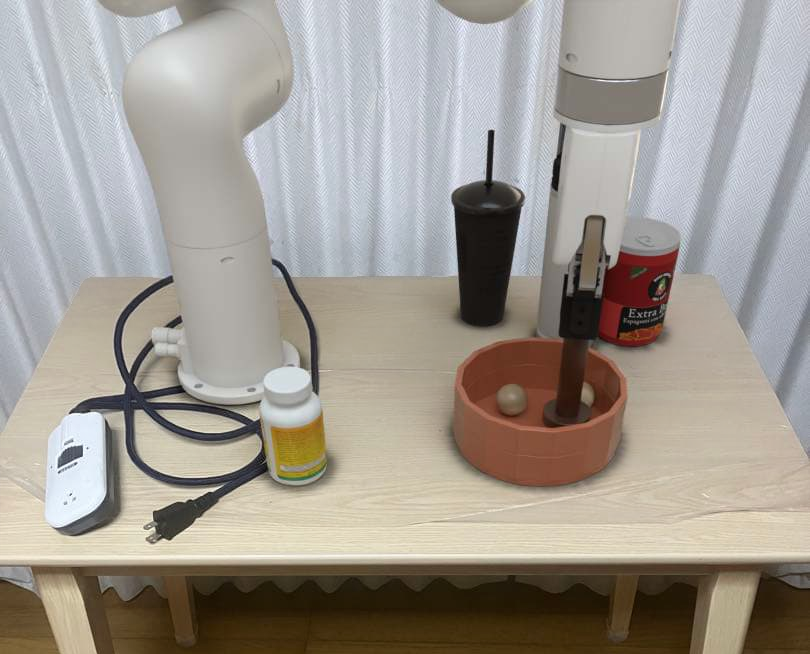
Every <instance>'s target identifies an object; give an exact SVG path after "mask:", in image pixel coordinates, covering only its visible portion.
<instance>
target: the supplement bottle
mask: <svg viewBox="0 0 810 654" xmlns="http://www.w3.org/2000/svg"><path fill="white" fill-rule="evenodd" d="M263 385H264V394H265V397H264V398H263V399H262V400H260V403H259V407H258V414H259V421H260V426H261V434H262V441H263V447H264V453H265V460H266V466H267V470H268V473H269V475H270V477H271V478H272V479H273V480H275V481H276V482H278V483H280V484H283V485H287V486H305V485H309V484H311V483H314V482H315V481H318V479H320V478H321V477H322V476H323V475H324V473H325V472H326V469H327V466H328V459H327V448H326V437H325V425H324V416H323V415H324V414H323V405H322V401H321V399H320V397H319V396H318V395H317V393H315V392H314V390H313V389H314V388H313V382H312V376H311V374H310V373H309V371H307V370H306V369H304V368H302V367H300V368H299V367H281V368H278V369H275V370H273V371H271V372H269V373H268V374H267V375H266V376H265V377H264V380H263Z"/></svg>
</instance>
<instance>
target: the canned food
mask: <svg viewBox="0 0 810 654" xmlns="http://www.w3.org/2000/svg"><path fill="white" fill-rule="evenodd" d="M681 237H682V235H681V233H680V231H679V230H678V229H677V228H675V227H674V226H673V225H671V224H669V223H667V222H665V221H661V220H659V219H654V218H648V217H626V221H625V226H624V231H623V236H622V241H621V246H620V250H619V255H618V259H617V263H616V265H615V266H613V267H612V268H611V269H608V268H607V266H606V268H605V274H604V281H603V288H602V293H604V297H603V303H602V310H601V316H600V323H599V330H598V336H597V337H599V338H601V339H602V340H604V341H607V342H609V343H611V344H613V345H618V346H624V347H639V346H644V345H648V344H651V343H652V342H654V341H655V340H656V339H657V338H658V337H659V335H660V333H661V332H662V330H663V326H664V324H665V323H664V322H665V318H666V313H667V308H668V305H669V304H668V303H669V300H670V294H671V290H672V285H673V281H674V277H675V276H674V275H675V271H676V268H677V261H678V257H679V253H680V246H681Z"/></svg>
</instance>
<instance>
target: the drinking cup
mask: <svg viewBox="0 0 810 654" xmlns="http://www.w3.org/2000/svg"><path fill="white" fill-rule="evenodd" d="M495 136H496V130H495V129H488V130H487V141H486V142H487V146H486V163H485V165H486V166H485V179H483V180H481V179H480V180H476V181H472V182H470V183H467V184H464V185H461V186H459V187H457V188H455V189H454V190H453V191H452V193H451V194H450V203H451V205H452V206H453V213H454V228H455V229H454V231H455V246H456V260H457V261H456V263H457V274H458V275H457V277H458V291H459V294H458V295H459V305H460V306H459V307H460V318H461V319H462V320H463V322H465V323H467V324H469V325H472V326H475V327H489V326H494V325H496V324H499V323H500V322H502V320H503V318H504V314H505V309H506V303H507V297H508V291H509V285H510V280H511V273H512V267H513V261H514V256H515V251H516V243H517V238H518V231H519V226H520V219H521V214H522V208H523V207H524V205H525V204H526V194H525V193H524V191H523V190H522V189H520V188H519V187H517V186H514V185H511V184H509V183H506V182H505V181H500V180H495V179H494V180H493V175H494V174H493V173H494V159H495V157H494V155H495V138H496V137H495Z"/></svg>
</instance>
